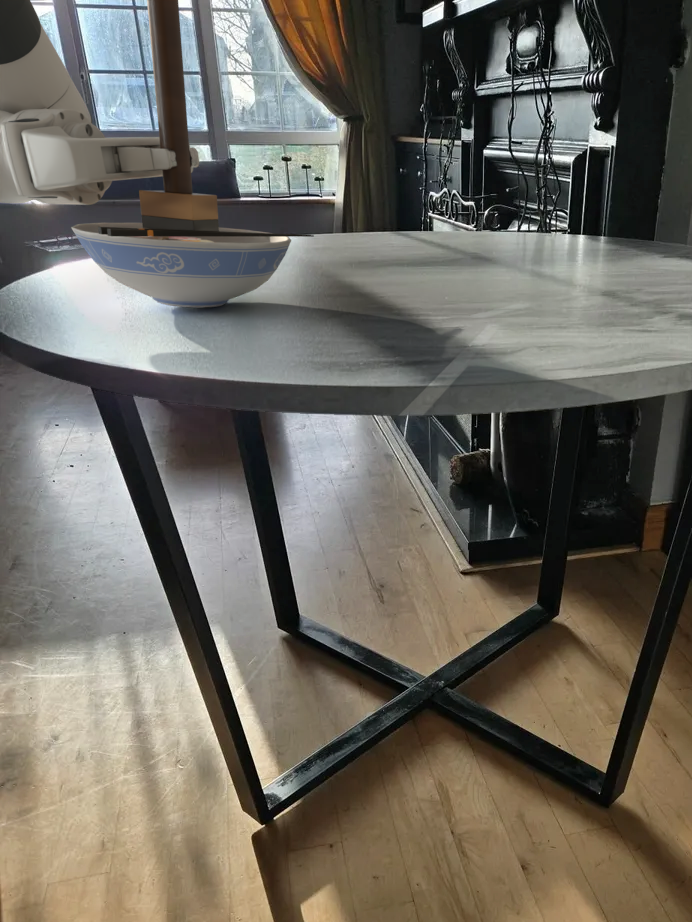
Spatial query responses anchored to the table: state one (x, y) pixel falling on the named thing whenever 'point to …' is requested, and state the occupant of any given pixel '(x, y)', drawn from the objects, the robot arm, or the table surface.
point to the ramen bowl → (184, 260)
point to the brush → (173, 132)
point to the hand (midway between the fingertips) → (183, 158)
